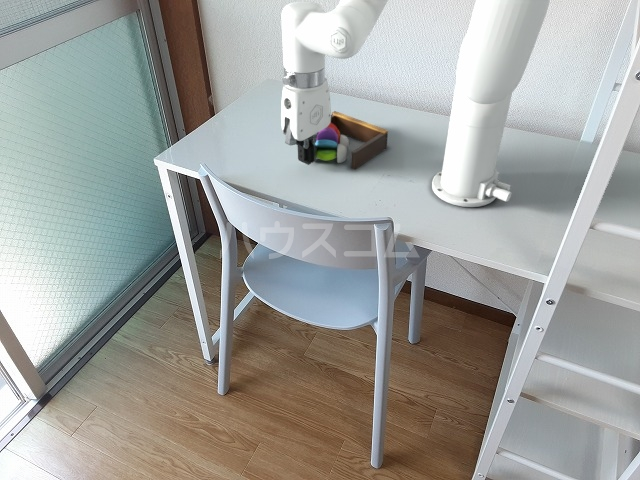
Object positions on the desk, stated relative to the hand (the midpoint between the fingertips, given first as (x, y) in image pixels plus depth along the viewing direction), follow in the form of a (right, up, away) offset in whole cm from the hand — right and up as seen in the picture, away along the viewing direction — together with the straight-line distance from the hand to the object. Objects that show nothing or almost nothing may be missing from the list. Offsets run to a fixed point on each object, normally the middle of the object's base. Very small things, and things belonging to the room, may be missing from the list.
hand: (306, 161), depth 107 cm
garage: (+8, +4, +7) cm, 11 cm away
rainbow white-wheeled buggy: (+5, +2, +5) cm, 7 cm away
